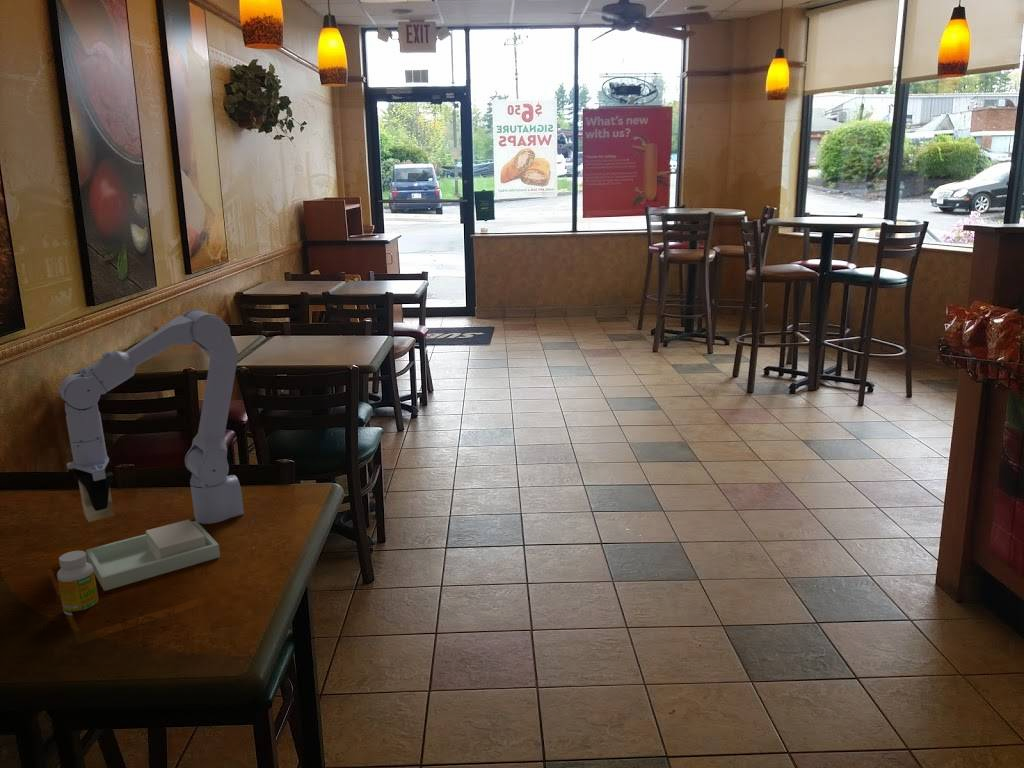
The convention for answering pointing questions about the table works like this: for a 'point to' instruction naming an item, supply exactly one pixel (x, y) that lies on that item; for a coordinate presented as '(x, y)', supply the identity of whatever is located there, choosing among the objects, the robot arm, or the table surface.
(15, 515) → the table surface
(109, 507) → the maple block
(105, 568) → the pale green tray
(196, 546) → the light gray block
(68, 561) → the supplement bottle
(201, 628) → the table surface
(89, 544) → the table surface
